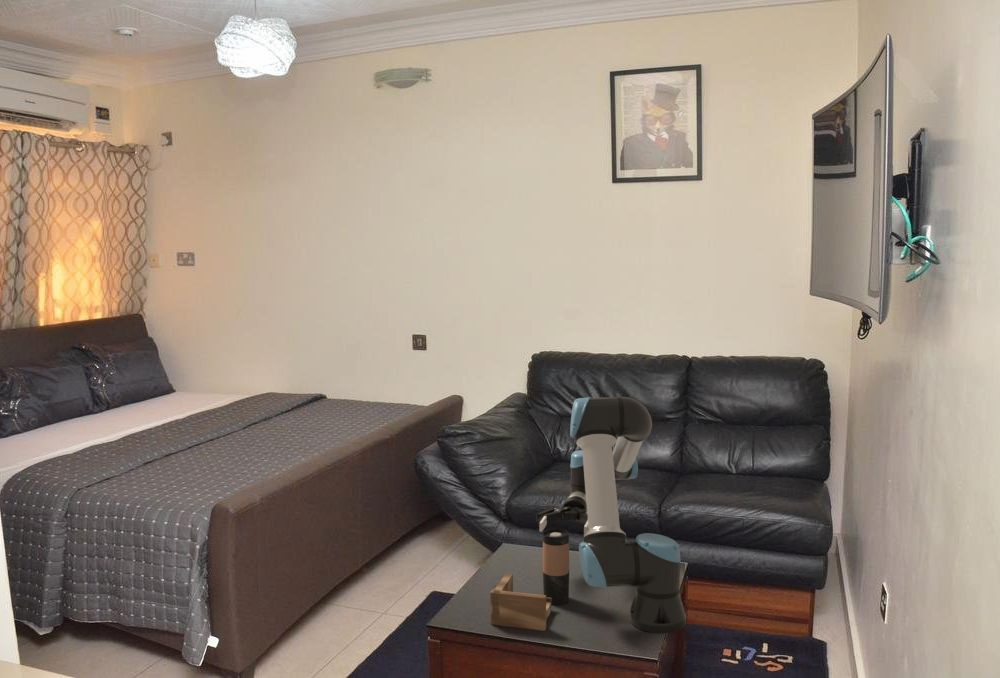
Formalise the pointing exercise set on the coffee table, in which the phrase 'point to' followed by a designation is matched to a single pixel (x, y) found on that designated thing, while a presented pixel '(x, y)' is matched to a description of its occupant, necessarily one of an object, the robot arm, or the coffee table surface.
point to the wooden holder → (518, 607)
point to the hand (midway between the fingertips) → (562, 529)
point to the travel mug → (556, 565)
